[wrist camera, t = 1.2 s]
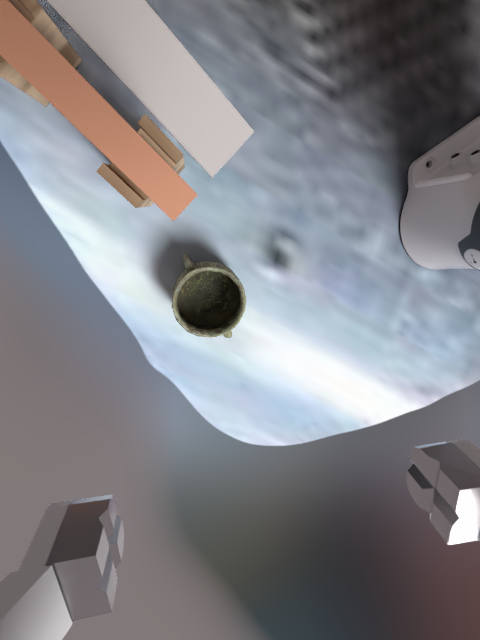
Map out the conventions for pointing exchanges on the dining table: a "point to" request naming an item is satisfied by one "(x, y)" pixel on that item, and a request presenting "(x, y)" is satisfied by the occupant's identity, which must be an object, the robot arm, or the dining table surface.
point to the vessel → (208, 299)
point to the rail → (89, 112)
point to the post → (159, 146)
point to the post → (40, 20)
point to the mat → (160, 75)
